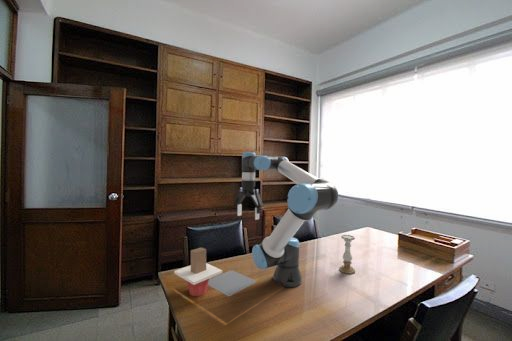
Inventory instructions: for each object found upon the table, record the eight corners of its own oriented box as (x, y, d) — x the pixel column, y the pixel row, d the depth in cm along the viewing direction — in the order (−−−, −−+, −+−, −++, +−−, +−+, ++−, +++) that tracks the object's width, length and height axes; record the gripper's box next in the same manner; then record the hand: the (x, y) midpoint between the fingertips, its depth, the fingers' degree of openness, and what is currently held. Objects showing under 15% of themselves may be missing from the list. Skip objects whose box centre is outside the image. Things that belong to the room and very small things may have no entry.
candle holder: (356, 274, 139) (357, 239, 138) (340, 273, 141) (341, 238, 140) (353, 268, 148) (354, 235, 147) (338, 267, 149) (339, 233, 149)
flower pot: (204, 300, 111) (204, 279, 111) (182, 297, 113) (182, 277, 113) (213, 289, 121) (213, 269, 121) (192, 286, 123) (192, 267, 123)
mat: (257, 282, 128) (257, 281, 128) (228, 298, 113) (229, 296, 113) (231, 271, 141) (231, 269, 141) (202, 283, 126) (202, 282, 126)
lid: (222, 272, 118) (222, 249, 117) (193, 284, 106) (194, 259, 105) (202, 263, 128) (202, 242, 128) (174, 273, 116) (174, 250, 116)
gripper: (270, 180, 133) (269, 219, 133) (237, 178, 149) (237, 213, 150) (261, 181, 127) (260, 222, 128) (228, 178, 144) (228, 215, 144)
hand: (248, 217), depth 139 cm, fingers open, 13 cm apart
